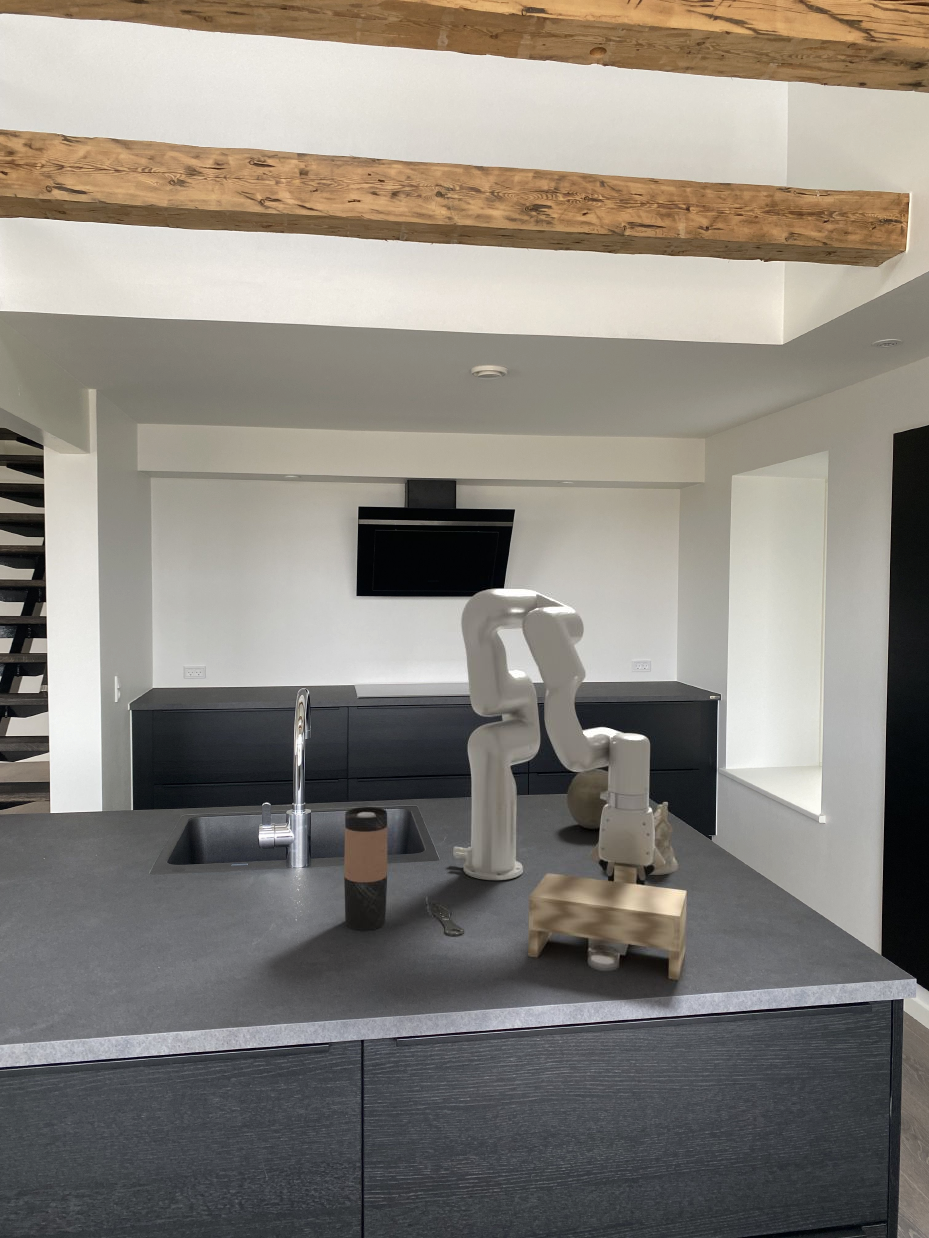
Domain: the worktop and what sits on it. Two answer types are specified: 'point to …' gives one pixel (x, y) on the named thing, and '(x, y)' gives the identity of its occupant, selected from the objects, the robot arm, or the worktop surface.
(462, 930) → the throwing knife
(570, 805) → the cantaloupe
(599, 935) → the oak bench
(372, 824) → the travel mug
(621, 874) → the tan piece
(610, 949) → the steel puck
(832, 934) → the worktop surface
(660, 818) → the ceramic cottage
